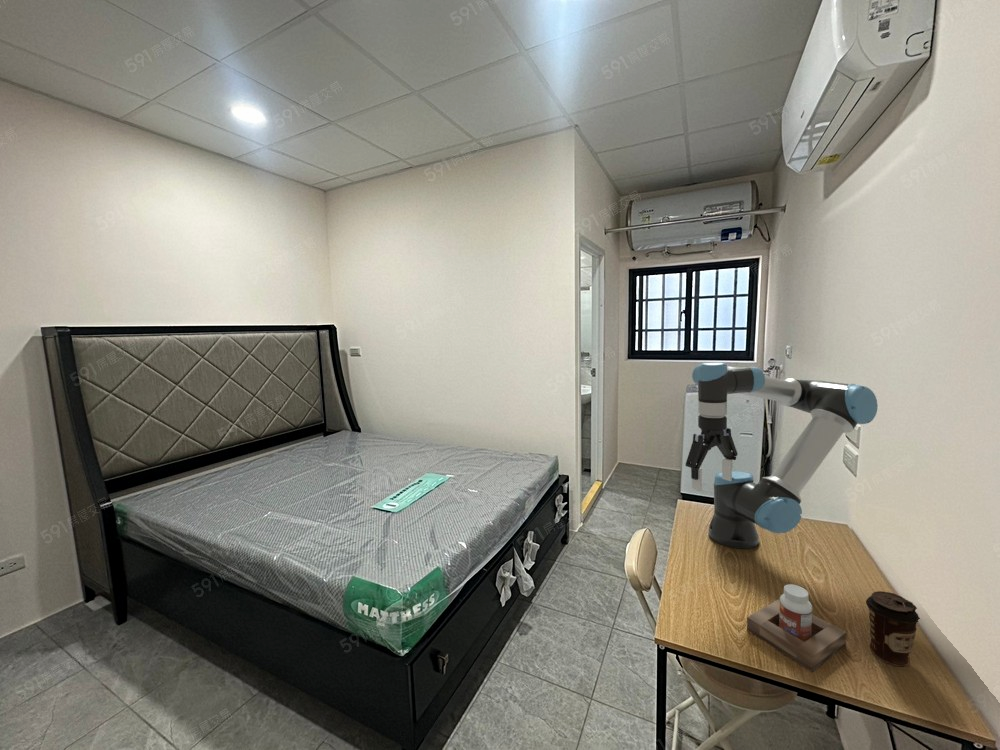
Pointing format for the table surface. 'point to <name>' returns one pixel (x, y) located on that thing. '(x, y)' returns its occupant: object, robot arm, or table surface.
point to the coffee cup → (892, 627)
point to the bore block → (808, 653)
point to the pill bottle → (796, 612)
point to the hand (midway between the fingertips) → (712, 484)
